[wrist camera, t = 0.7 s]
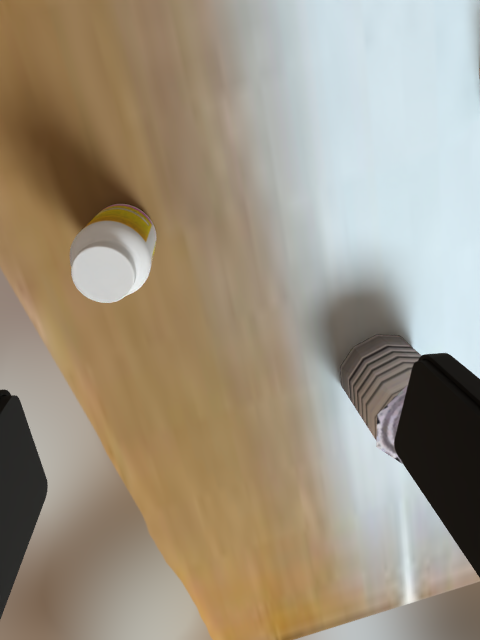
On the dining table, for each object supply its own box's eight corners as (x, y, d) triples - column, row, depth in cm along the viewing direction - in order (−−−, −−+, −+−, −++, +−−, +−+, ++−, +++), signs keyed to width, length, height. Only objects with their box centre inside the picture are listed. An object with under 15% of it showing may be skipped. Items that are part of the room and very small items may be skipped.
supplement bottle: (85, 206, 38) (43, 237, 27) (150, 199, 38) (137, 225, 27) (102, 268, 41) (71, 319, 30) (162, 260, 42) (155, 308, 30)
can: (341, 407, 55) (379, 472, 45) (335, 344, 50) (377, 400, 39) (413, 389, 56) (468, 449, 45) (416, 324, 50) (479, 374, 40)
